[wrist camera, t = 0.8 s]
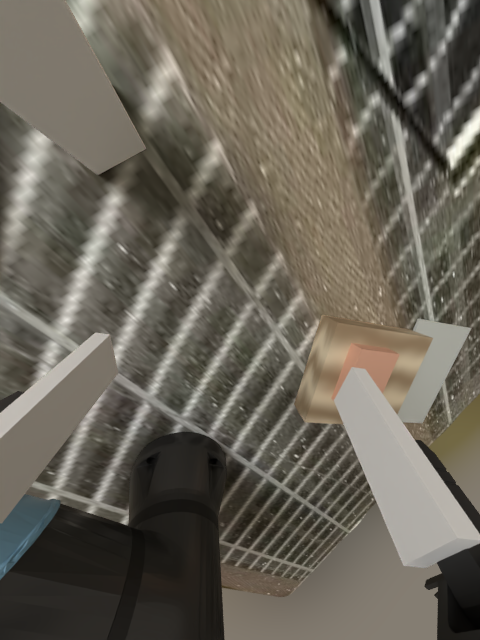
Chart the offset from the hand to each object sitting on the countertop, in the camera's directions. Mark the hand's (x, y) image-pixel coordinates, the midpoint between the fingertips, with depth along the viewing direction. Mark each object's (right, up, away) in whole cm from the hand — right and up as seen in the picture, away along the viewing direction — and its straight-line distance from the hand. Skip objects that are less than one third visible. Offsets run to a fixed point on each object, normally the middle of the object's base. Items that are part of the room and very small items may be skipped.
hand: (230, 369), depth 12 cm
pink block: (+18, -5, +19) cm, 26 cm away
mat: (+33, -7, +26) cm, 43 cm away
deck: (+19, -5, +23) cm, 30 cm away
